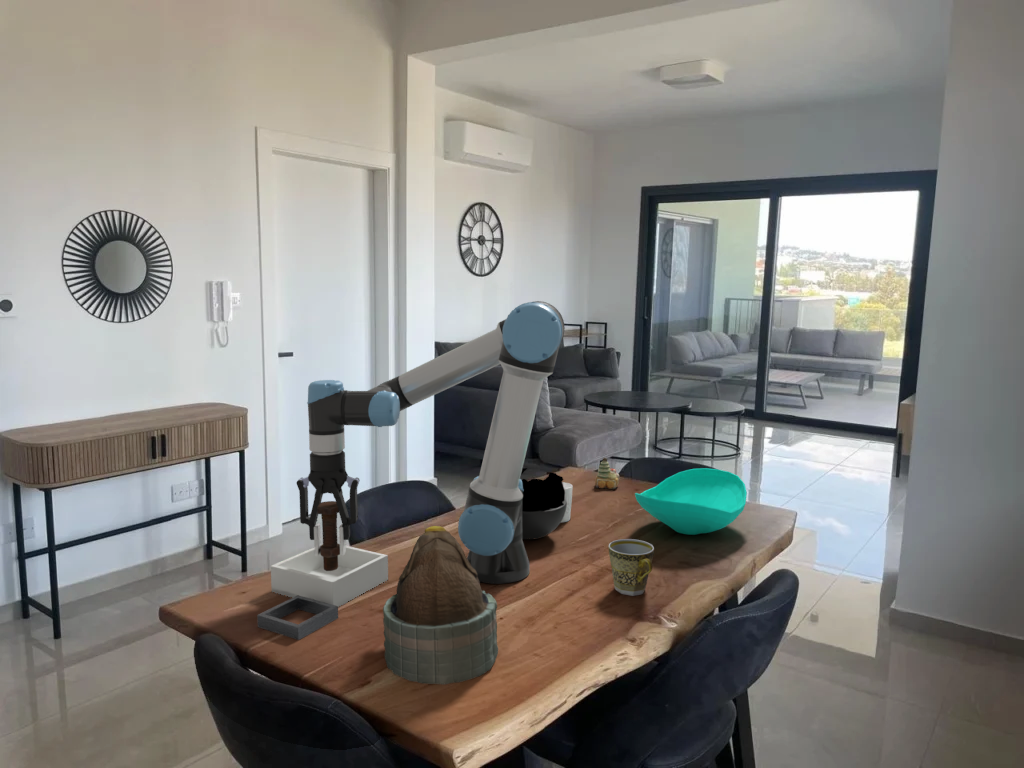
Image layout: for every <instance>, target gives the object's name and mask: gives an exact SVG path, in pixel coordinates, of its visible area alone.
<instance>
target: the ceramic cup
mask: <svg viewBox="0 0 1024 768" xmlns="http://www.w3.org/2000/svg"><path fill="white" fill-rule="evenodd" d="M654 552H655V547H654V545H653V544H652V543H649V542H647V541H644V540H641V539H640V540H639V539H634V538H633V539H632V538H624V539H617V540H613V541H611V542H610V543H609V544H608V553H609V554H608V555H609V561H610V566H611V573H612V579H613V585H614V586H613V587H614V589H615V591H617V592H618V593H619V594H621V595H626V596H631V597H635V596H639V595H644V592H645V590H646V587H647V584H648V578H649V574H651V572H652V571H653V563H652V562H653V558H654Z"/></svg>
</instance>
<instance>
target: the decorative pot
mask: <svg viewBox="0 0 1024 768" xmlns="http://www.w3.org/2000/svg"><path fill="white" fill-rule="evenodd" d="M477 575H478V574H477V572H476V570H475V569H474V568H473V567H472V566H471V564H470V563H469V561H468V559H467V556H466V552H464V550H463V548H462V546H461V544H460V543H459V542H458V540H457V539H456V537H455V536H453V535H452V534H451V533H450V532H449V531H448V530H446V528H445V527H443V526H439V525H431V526H429V527H426V528H425V529H424V532H423V534H421V535H420V536H419V537H418V538H417V540H416V542H415V544H414V546H413V548H412V551H411V554H410V557H409V559H408V561H407V563H406V565H405V566H404V568H403V571H402V572H401V574H400V575H399V578H398V582H397V586H396V594H393V595H392V596H391V597H389V598H388V599H386V601H385V603H384V605H383V607H382V614H383V618H382V619H383V628H384V629H383V635H384V642H383V647H384V650H385V651H384V660H385V662H386V667H387V668H388V670H390V671H391V672H392V673H393V675H396V676H397V677H401V678H403V679H405V680H407V681H409V682H413V683H414V682H417V683H418V684H419V683H420V684H427V685H434V684H435V685H448V684H453V683H462V682H465V681H468V680H472V679H476V678H477V677H480V676H482V675H485V673H488V672H489V671H490V670H491V669H492V667H493V665H494V664H495V662H496V659H497V657H498V654H499V647H498V633H497V630H498V623H497V622H498V621H497V610H498V609H497V608H498V602H497V600H496V599H495V597H493V595H492V594H490V593H489V592H488V593H486V591H485V590H482V587H481V585H480V584H481V582H479V580H478V577H477ZM487 671H488V672H487Z"/></svg>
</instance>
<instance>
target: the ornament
mask: <svg viewBox="0 0 1024 768" xmlns="http://www.w3.org/2000/svg"><path fill="white" fill-rule="evenodd" d="M619 478H620V474H619V473H617V469H615V468H611V466H610V463H609V461H608V458H607V457H603V458H602V461H600V464H599V466H598V469H597V474H596V477H595V479H594V481H595V482H594V485H595V487H596V489H597V488H599V489H609V490H611V489H612V490H614V489H615V490H616V489H617V487H618V486H619V482H620V481H619V480H620V479H619Z"/></svg>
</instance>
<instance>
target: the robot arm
mask: <svg viewBox="0 0 1024 768" xmlns="http://www.w3.org/2000/svg"><path fill="white" fill-rule="evenodd" d="M565 329H566V328H565V320H564V317H563V315H562V314H561V312H560V311H559V309H557V307H555V306H554V305H552V304H551V303H548V302H545V301H541V300H540V301H539V300H537V301H536V300H535V301H529V302H525V303H522V304H519V305H518V306H517V307H514V308H513V309H512V310H511V312H509V314H508V315H507V317H506V318H505V319H503V320H501V321H499V322H498V323H497V325H496V327H495V329H493V330H490V331H489V332H486V333H485V334H482V335H480V336H478V337H476V338H474V339H472V340H470V341H468V342H466V343H464V344H462V345H460V346H458V347H456V348H454V349H452V350H449V351H447V352H445V353H443V354H441V355H439V356H437V357H435V358H432V359H430V360H429V361H427V362H424V363H422V364H420V365H419V366H416V367H414V368H412V369H410V370H408V371H406V372H404V373H401V374H400V375H398V376H395V377H393V378H391V379H389V380H387V381H385V382H384V381H383V383H382V382H381V383H380V384H379V385H377V386H374V387H372V388H371V389H368V390H346V389H345V387H344V383H343V382H342V381H340V380H334V379H323V380H321V379H320V380H315V381H313V382H310V384H309V385H308V389H307V402H306V404H307V415H308V435H309V436H308V439H309V440H308V441H309V445H308V446H309V451H310V453H309V474H308V476H306V477H300V478H298V480H297V481H296V486H297V489H298V492H299V517H300V519H299V520H300V521H299V522H300V524H302V525H307V526H308V529H309V531H308V532H309V533H308V534H309V540H311V541H313V543H314V544H313V548H314V549H315V556H318V555H319V554H320V546H321V544H322V543H321V542H322V540H321V538H322V536H321V523H319V522H318V517H319V514H318V512H317V510H318V509H317V506H319V505H320V503H321V502H322V499H323V495H324V494H331V495H333V499H334V501H336V504H337V506H338V511H339V513H338V514H339V517H340V520H341V523H340V525H339V527H338V528H339V531H338V532H339V537H338V538H339V544H340V556H343V555H344V554H345V552H346V546H347V545H346V543H347V541H348V540H349V539H350V537H351V525H354V524H356V523H357V521H358V519H359V506H358V505H359V504H358V488H359V483H360V478H359V477H351V476H349V474H348V473H347V470H346V452H345V451H344V450H345V448H346V445H345V443H346V442H345V426H360V427H361V426H362V427H377V428H382V427H394V426H395V425H396V424H397V423H398V420H399V419H400V414H401V411H404V410H405V409H408V408H410V407H412V406H413V405H416V404H418V403H420V402H422V401H425V400H426V399H428V398H431V397H433V396H435V395H438V394H439V393H442V392H443V391H446V390H447V389H450V388H453V387H454V386H456V385H459V384H461V383H463V382H464V381H466V380H469V379H472V378H473V377H475V376H478V375H480V374H483V373H484V372H486V371H489V370H490V369H493V368H494V367H495V368H496V367H497V366H501V367H502V370H503V372H502V376H501V380H500V385H499V390H498V394H497V398H496V402H495V407H494V410H493V416H492V418H491V423H490V428H489V433H488V438H487V439H486V445H485V450H484V454H483V459H482V463H481V467H480V471H479V475H477V476H476V477H474V478H473V480H472V481H471V482H470V484H469V488H468V492H467V496H466V501H465V505H464V509H463V512H462V513H461V515H459V519H458V527H457V532H458V537H459V539H460V541H461V542H462V544H463V545H464V547H466V549H468V550H469V551H468V554H467V556H466V558H467V559H468V561H469V563H470V564H471V566H472V567H473V568H474V569H475V570H476V572H477V574H478V575H477V577H478V580H479V582H480V583H485V584H499V585H500V584H510V583H515V582H518V581H521V580H523V579H525V578H527V577H528V575H529V574H530V571H531V570H530V569H531V568H530V566H531V565H530V563H531V562H530V559H529V558H528V552H527V550H526V548H525V543H524V541H523V540H524V539H522V509H523V491H524V489H523V484H522V480H523V479H521V476H522V474H521V472H522V468H524V464H525V458H526V455H527V450H528V447H529V442H530V438H531V434H532V429H533V426H534V422H535V417H536V414H537V409H538V405H539V401H540V397H541V392H542V388H543V384H544V380H545V379H546V378H547V377H549V376H551V375H553V373H554V370H555V366H556V361H557V358H558V357H557V356H558V353H559V349H560V345H561V342H562V340H563V338H564V336H565ZM345 483H347V487H348V488H349V509H350V510H349V511H350V512H348V509H347V504H346V501H345V498H344V494H343V489H342V487H343V486H344V485H345ZM310 484H311V485H312V486H313V488H315V492H314V499H313V503H312V508H311V512H310V514H309V490H308V489H309V488H308V487H309V486H310ZM349 513H350V514H349ZM309 515H310V516H309Z"/></svg>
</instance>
